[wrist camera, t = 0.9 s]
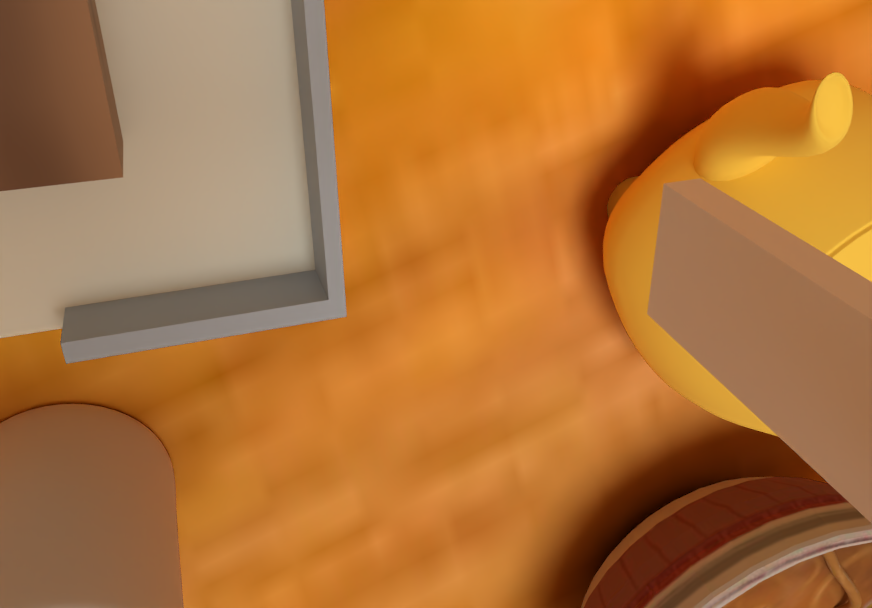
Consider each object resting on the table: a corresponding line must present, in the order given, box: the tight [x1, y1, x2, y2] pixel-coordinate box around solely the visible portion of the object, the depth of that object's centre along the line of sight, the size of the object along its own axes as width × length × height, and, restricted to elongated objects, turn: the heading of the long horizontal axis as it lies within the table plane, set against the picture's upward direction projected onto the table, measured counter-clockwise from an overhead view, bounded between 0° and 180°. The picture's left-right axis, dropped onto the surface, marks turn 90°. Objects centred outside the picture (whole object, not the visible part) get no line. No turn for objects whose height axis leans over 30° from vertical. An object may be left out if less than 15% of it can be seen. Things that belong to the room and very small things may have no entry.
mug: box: [0, 404, 184, 608], centre depth 32 cm, size 12×8×11 cm
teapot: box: [603, 72, 872, 436], centre depth 34 cm, size 14×20×13 cm
